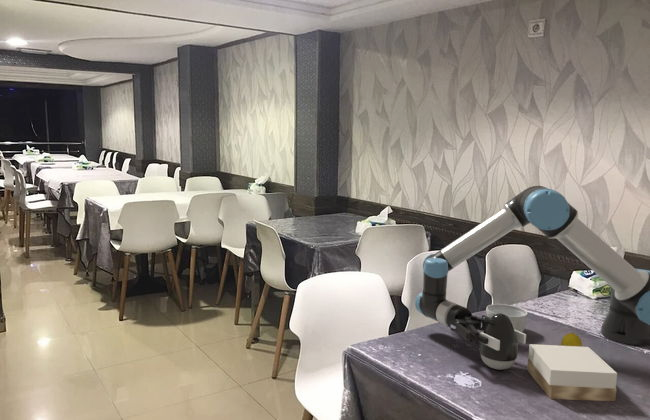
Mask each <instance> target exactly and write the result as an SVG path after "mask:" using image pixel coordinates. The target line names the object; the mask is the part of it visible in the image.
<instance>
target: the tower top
mask: <svg viewBox="0 0 650 420" xmlns="http://www.w3.org/2000/svg"><path fill="white" fill-rule="evenodd" d="M528 358H529V359H530V361H531V362H532V363H533V364H534V366H535V367H536V368H537V370H538V371H539V372H540V373H541V375H542V376H543V377H544V379H545V380H546V381H547V383H548V384H549V385H555V386H574V387H594V388H613V389H615V388H617V387H616V386H617V379H618V373H617V371H615V370H614V369H613V368H612V367H611V366H610V365H609V364H608V363H606V362H605V361H604V360H603V359H602V358H601V357H600V356H599V355H598V354H597V353H596V352H595V351H593V350H592V349H591V348H590V347H589V346H582V347H579V346H561V345H555V344H553V345H552V344H551V345H550V344H538V343H537V344H534V343H533V344H531V343H530V344H529V348H528V357H527V359H528Z"/></svg>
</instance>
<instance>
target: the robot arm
mask: <svg viewBox="0 0 650 420" xmlns="http://www.w3.org/2000/svg"><path fill="white" fill-rule="evenodd" d="M529 224H531V225H532V226H534V227H535V228H536V229H537V230H538V231H540V232H541V233H542V234H543V235H544V236H545V237H547V238H548V239H552V240H553V239H556V240H558V241H559V242H560V243H561V245H563V246H564V247H565V248H567V250H569V251H570V252H571V253H572V254H573V255H575V256H576V257H577V258H578V259H579V260H580V261H581V262H582V263H584V264H585V265H586V266H587V267H588V268H590V270H591V271H592V272H594V273H595V274H596V275H597V276H598V277H599V278H600V279H602V280H603V281H604V282H605V283H606V284H607V285H608V286H610V288H611V290H610V300H609V310H608V313H607V315H606V316H605V318H604V320H603V321H602V322H603V323H602V324H601V326H600V327H601V329H600V333H601V334H602V336H604V337H605V338H607V339H609V340H612V341H615V342H618V343H622V344H625V345H632V346H650V270H648V269H641V268H635V267H634V266H632V264H630V262H628V261H627V260H626V259H625V258H624V257H622V256H621V254H619V253H618V252H617V251H616V250H614V249H613V248H612V247H611V246H610V245H609V244H608V243H607V242H605V241H604V240H603V239H602V238H600V236H599V235H597V234H596V233H595V232H594V231H593V230H591V228H590V227H588V226H587V225H586V224H585V223H584V222H583V221H582V220H580V219H579V212H578V210H577V209H576V208H575V207H574V206H572V205H571V204H570V202H568V201H567V199H566V197H565V196H564V195H562V193H560V192H558V191H557V190H554V189H550V188H547V187H545V186H541V185H533V186H529V187H527V188H526V189H523V190H522V191H521V192H520V193H518V194H516V195H515V196H514V197H513V198H511V199H510V200H508V201H507V202H506V203H504V204H503V208H502V209H500V210H499V211H497V212H495V213H494V214H493V215H491V216H490V217H489V218H487V219H486V220H484V221H482V222H481V223H479V224H478V225H476V226H474V227H473V228H472V229H470V230H468V231H467V232H466V233H464V234H463V235H461V236H459V237H458V238H457V239H455V240H453V241H452V242H450V243H449V244H447V245H446V246H445V247H443V248H441V249H440V250H439V251H437V252H436V253H432V254H428V255H426V258H424V260H423V263H422V270H423V273H422V275H423V277H422V278H423V281H422V282H423V283H422V292H419V293H418V295H417V297H416V299H415V301H414V307H415V309H416V311H417V312H418V313H420V314H422V315H423V316H424V317H426V318H429V319H432V320H434V321H436V322H438V323H440V324H441V325H444V326H445V327H446V328H449V329H450V331H452V332H455V333H456V334H457V335H459V336H460V337H461V338H463V339H464V340H466V341H467V342H469V343H472V342H473V344H474V345H479V343H480V342H481V343H483V344H485V345H487V346H489V347H491V348H493V349H495V350H497V351H498V350H499V349H500V340H498V339H496V338H494V337H491V336H489V335H487V334H485V333H483V332H484V330H485V327H486V325H487V322H485V319H486V318H487V319H490V318H489V317H487V315H484V314H483V315H481V317H478V316H476V315H473V314H472V312H471V310H470V309H469V308H467V307H465V306H462V305H461V304H458V303H455V302H453V301H450V300H448V299H447V286H448V274H449V272H450V271H451V270H454V269H455V268H456V267H458V266H459V265H460V264H462V263H463V262H466V261H467V260H468V259H470V258H472V257H473V256H475V255H476V254H478V253H479V252H481V251H482V250H484V249H486V248H487V247H488V246H490V245H492V244H493V243H495V242H497V241H498V240H499V239H501V238H502V237H504V236H506V235H507V234H509V233H510V232H512V231H513V230H515V229H517V228H521V229H522V228H523V227H525V226H527V225H529ZM514 330H515V329H514ZM479 331H481V332H479ZM515 334H516V339H517V343H520V344H523V345H525V344H526V341H527V334H526V333H524V332H519V331H517V330H515Z"/></svg>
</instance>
